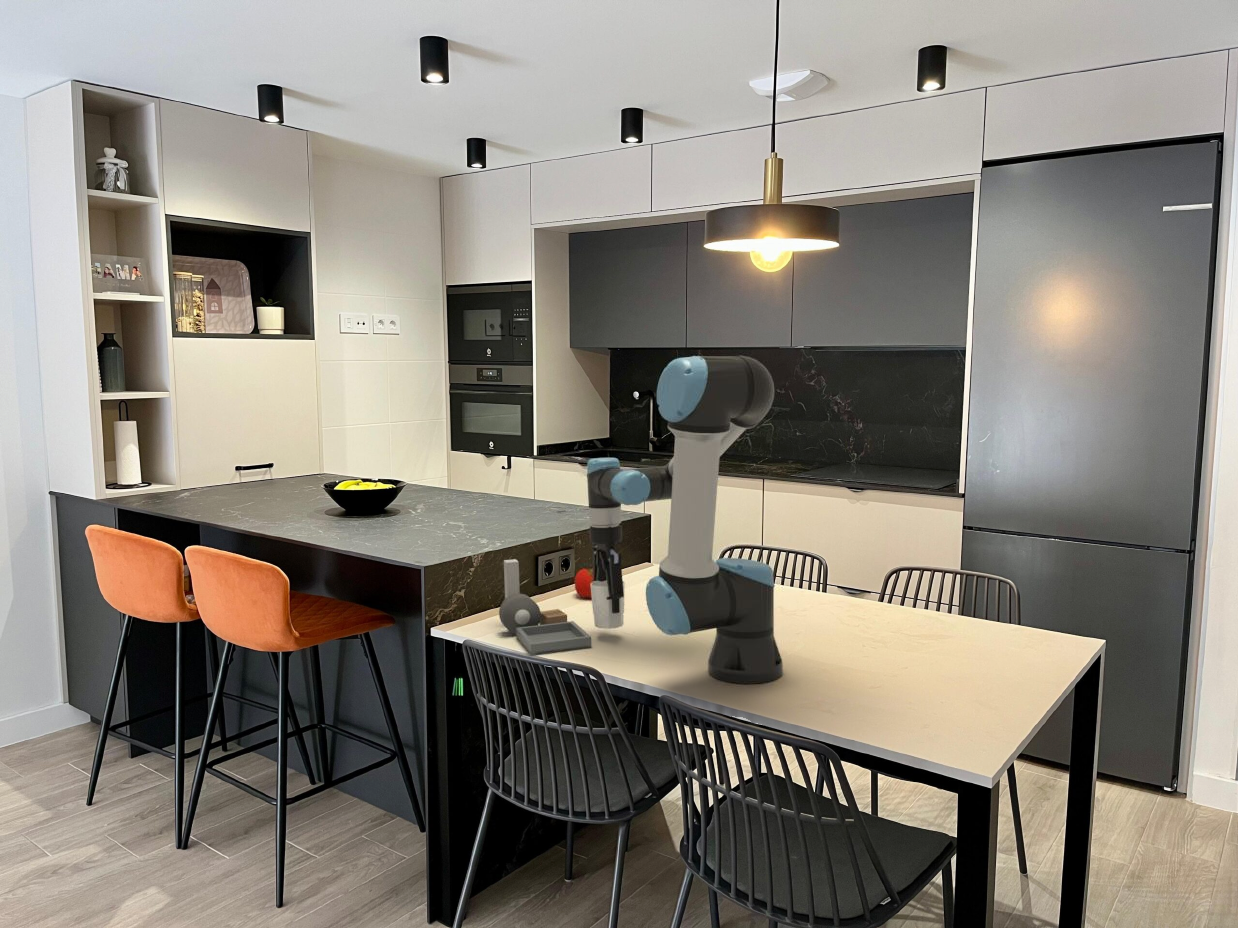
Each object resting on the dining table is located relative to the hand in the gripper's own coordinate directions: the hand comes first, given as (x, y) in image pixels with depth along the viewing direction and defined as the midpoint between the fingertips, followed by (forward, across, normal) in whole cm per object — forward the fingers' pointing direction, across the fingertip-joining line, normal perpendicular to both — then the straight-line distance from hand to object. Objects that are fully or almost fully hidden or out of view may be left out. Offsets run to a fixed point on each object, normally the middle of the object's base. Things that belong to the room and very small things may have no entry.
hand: (608, 622), depth 211 cm
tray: (+4, +2, +13) cm, 14 cm away
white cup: (+1, 0, 0) cm, 1 cm away
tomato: (+3, +39, -9) cm, 40 cm away
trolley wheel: (+3, +16, +18) cm, 24 cm away
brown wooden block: (+4, +13, +10) cm, 17 cm away
